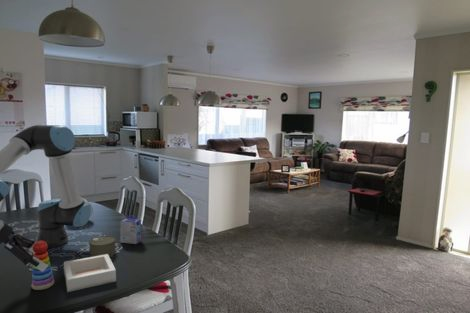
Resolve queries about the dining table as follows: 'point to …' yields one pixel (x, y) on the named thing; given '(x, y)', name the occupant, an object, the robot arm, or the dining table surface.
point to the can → (102, 246)
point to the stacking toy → (46, 277)
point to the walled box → (89, 272)
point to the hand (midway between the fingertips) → (45, 261)
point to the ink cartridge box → (130, 230)
